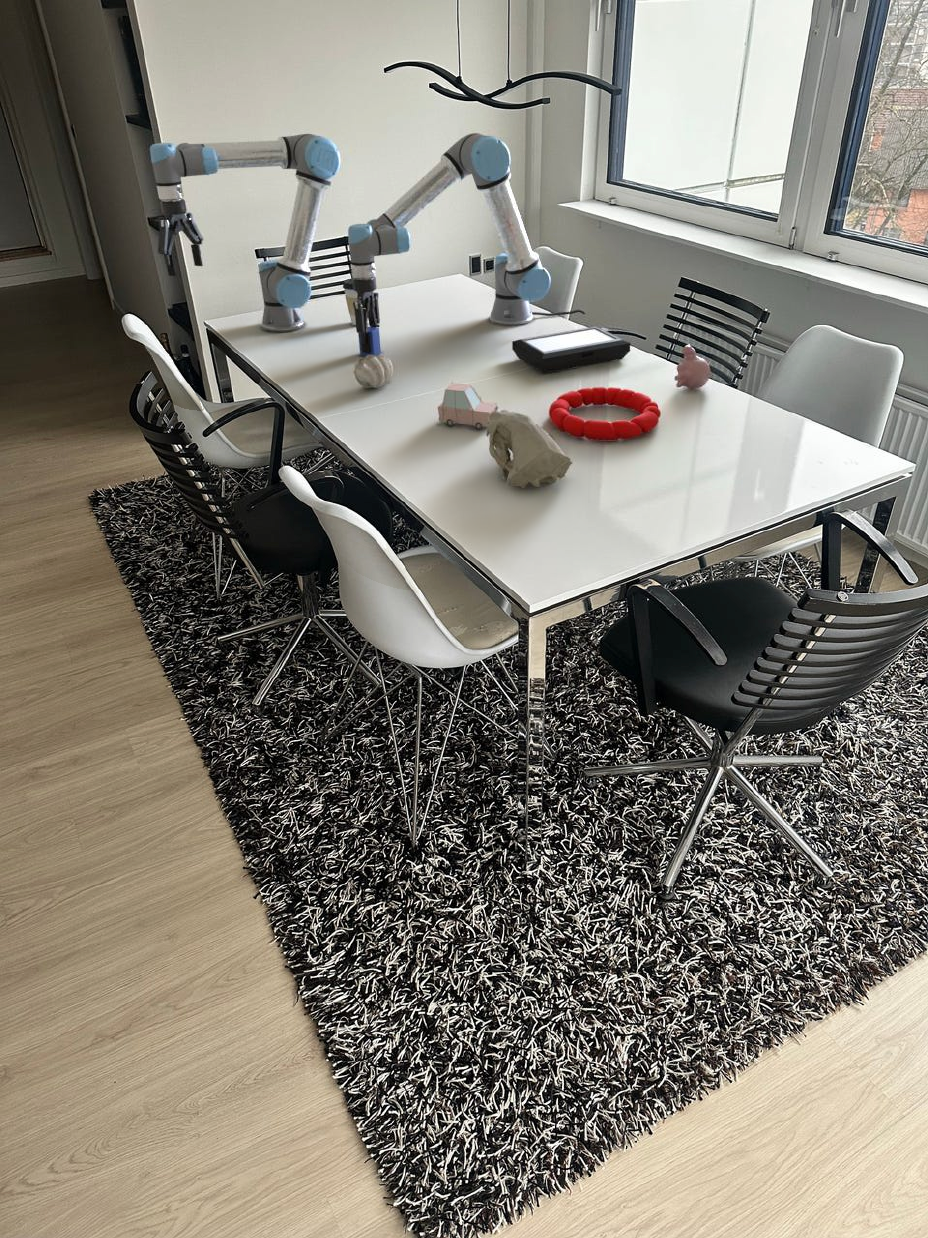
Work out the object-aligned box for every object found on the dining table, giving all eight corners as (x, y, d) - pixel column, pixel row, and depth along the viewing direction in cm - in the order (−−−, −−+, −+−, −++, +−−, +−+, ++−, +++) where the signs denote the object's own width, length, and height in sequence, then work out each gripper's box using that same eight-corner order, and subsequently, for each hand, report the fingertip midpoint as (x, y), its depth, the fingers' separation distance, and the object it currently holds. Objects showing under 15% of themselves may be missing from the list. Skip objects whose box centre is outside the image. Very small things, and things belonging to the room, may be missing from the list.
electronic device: (541, 356, 271) (512, 338, 286) (541, 376, 275) (512, 357, 290) (630, 340, 281) (597, 324, 296) (629, 359, 285) (596, 342, 300)
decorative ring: (589, 435, 224) (684, 402, 234) (527, 398, 247) (617, 369, 256) (589, 461, 229) (683, 427, 238) (529, 422, 251) (617, 393, 260)
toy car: (488, 432, 240) (488, 396, 234) (436, 426, 244) (434, 390, 239) (499, 419, 247) (499, 384, 241) (448, 413, 252) (447, 379, 246)
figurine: (665, 387, 264) (669, 347, 257) (693, 380, 268) (698, 340, 261) (686, 396, 257) (690, 355, 250) (714, 388, 262) (720, 348, 255)
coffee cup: (372, 326, 323) (368, 283, 314) (345, 327, 323) (340, 284, 315) (374, 318, 331) (371, 276, 322) (348, 319, 331) (344, 277, 323)
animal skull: (496, 517, 219) (521, 479, 201) (463, 429, 225) (484, 384, 207) (557, 503, 225) (586, 465, 206) (523, 417, 231) (549, 373, 212)
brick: (374, 357, 295) (372, 331, 290) (360, 355, 297) (357, 330, 292) (381, 352, 299) (378, 327, 294) (366, 351, 300) (364, 326, 296)
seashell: (346, 386, 272) (343, 354, 266) (390, 377, 278) (388, 345, 272) (359, 397, 264) (356, 364, 259) (405, 387, 270) (402, 354, 264)
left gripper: (156, 207, 267) (171, 280, 279) (206, 192, 286) (218, 262, 298) (136, 206, 269) (152, 279, 281) (186, 192, 288) (199, 260, 300)
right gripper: (361, 284, 276) (368, 359, 289) (386, 271, 289) (392, 342, 302) (340, 283, 278) (347, 357, 291) (366, 269, 292) (372, 340, 305)
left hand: (186, 270), depth 289 cm, fingers open, 13 cm apart
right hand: (370, 349), depth 297 cm, fingers closed on brick, 5 cm apart
